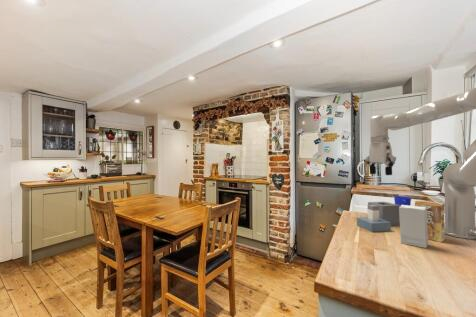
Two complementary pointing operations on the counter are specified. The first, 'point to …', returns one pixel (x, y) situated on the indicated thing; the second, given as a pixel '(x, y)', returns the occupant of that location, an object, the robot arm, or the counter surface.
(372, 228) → the low socket block
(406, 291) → the counter surface
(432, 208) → the candy box
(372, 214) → the plug
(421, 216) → the skincare box
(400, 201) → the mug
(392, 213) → the raised socket block
